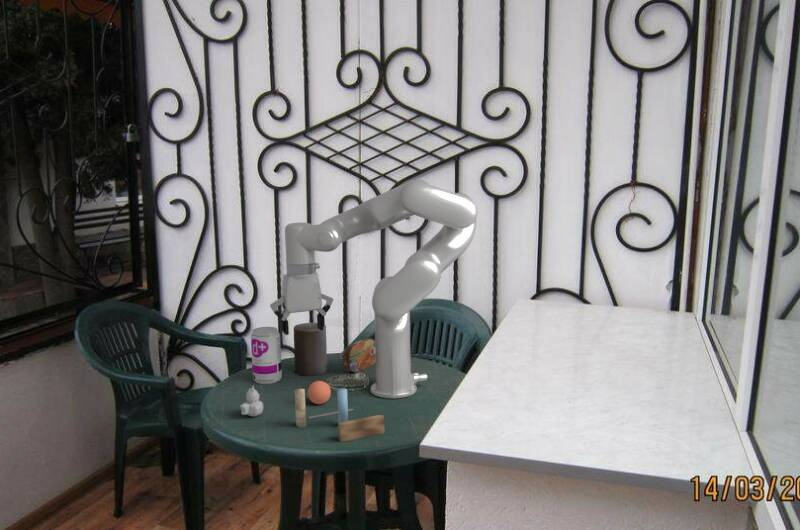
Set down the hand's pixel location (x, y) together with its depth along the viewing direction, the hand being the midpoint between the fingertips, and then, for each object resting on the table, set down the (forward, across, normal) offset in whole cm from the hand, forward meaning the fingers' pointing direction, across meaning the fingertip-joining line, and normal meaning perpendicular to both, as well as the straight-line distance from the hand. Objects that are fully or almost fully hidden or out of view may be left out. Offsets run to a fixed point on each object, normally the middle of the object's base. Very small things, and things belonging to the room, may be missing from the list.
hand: (303, 331), depth 195 cm
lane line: (+17, -1, +18) cm, 25 cm away
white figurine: (+17, +17, +10) cm, 27 cm away
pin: (+17, -1, +27) cm, 32 cm away
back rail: (+17, -3, +35) cm, 39 cm away
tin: (+17, -21, -12) cm, 30 cm away
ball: (+14, -1, +10) cm, 17 cm away
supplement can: (+17, +7, -15) cm, 24 cm away
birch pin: (+17, +8, +22) cm, 29 cm away
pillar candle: (+17, -7, -17) cm, 25 cm away
